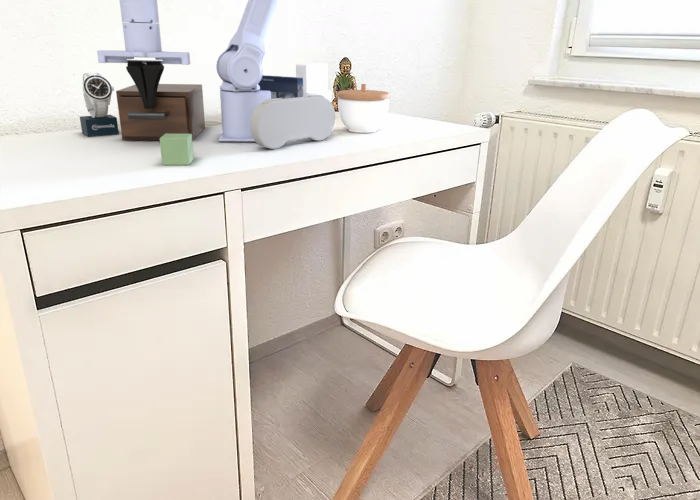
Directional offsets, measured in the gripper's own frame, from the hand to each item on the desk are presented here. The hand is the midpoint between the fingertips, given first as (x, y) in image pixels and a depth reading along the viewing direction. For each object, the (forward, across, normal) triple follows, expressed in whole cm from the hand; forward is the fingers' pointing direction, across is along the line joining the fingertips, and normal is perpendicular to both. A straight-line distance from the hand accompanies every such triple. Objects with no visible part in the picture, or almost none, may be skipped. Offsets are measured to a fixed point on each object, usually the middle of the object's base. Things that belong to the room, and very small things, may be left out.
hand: (150, 108), depth 94 cm
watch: (+6, -12, +9) cm, 16 cm away
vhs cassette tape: (+6, +18, +25) cm, 32 cm away
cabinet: (+6, 0, +10) cm, 12 cm away
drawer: (+5, 0, +6) cm, 8 cm away
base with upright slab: (+6, +29, +34) cm, 45 cm away
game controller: (+6, +25, 0) cm, 26 cm away
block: (+6, +7, -15) cm, 17 cm away
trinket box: (+6, +39, +15) cm, 42 cm away
